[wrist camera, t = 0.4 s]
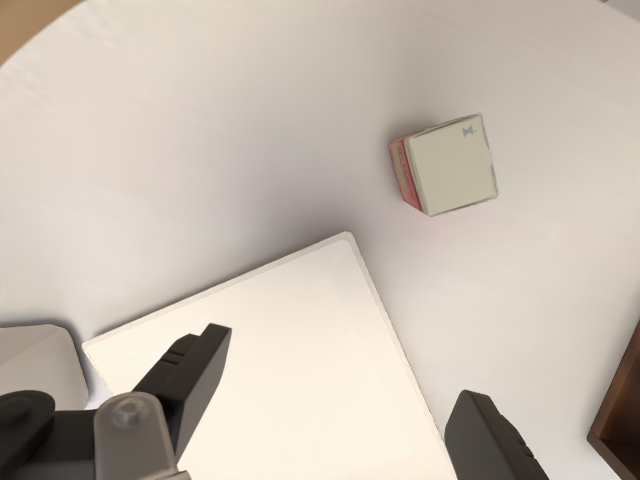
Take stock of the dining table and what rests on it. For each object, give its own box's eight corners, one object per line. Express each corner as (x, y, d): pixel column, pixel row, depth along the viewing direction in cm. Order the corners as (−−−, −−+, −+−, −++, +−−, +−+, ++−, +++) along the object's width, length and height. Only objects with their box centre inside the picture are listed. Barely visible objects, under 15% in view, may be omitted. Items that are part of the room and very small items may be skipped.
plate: (453, 462, 34) (460, 482, 32) (222, 534, 37) (215, 555, 35) (348, 224, 28) (349, 229, 26) (93, 333, 32) (77, 345, 30)
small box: (385, 142, 27) (405, 136, 19) (440, 123, 26) (482, 109, 19) (403, 203, 28) (428, 220, 20) (455, 186, 27) (501, 197, 20)
